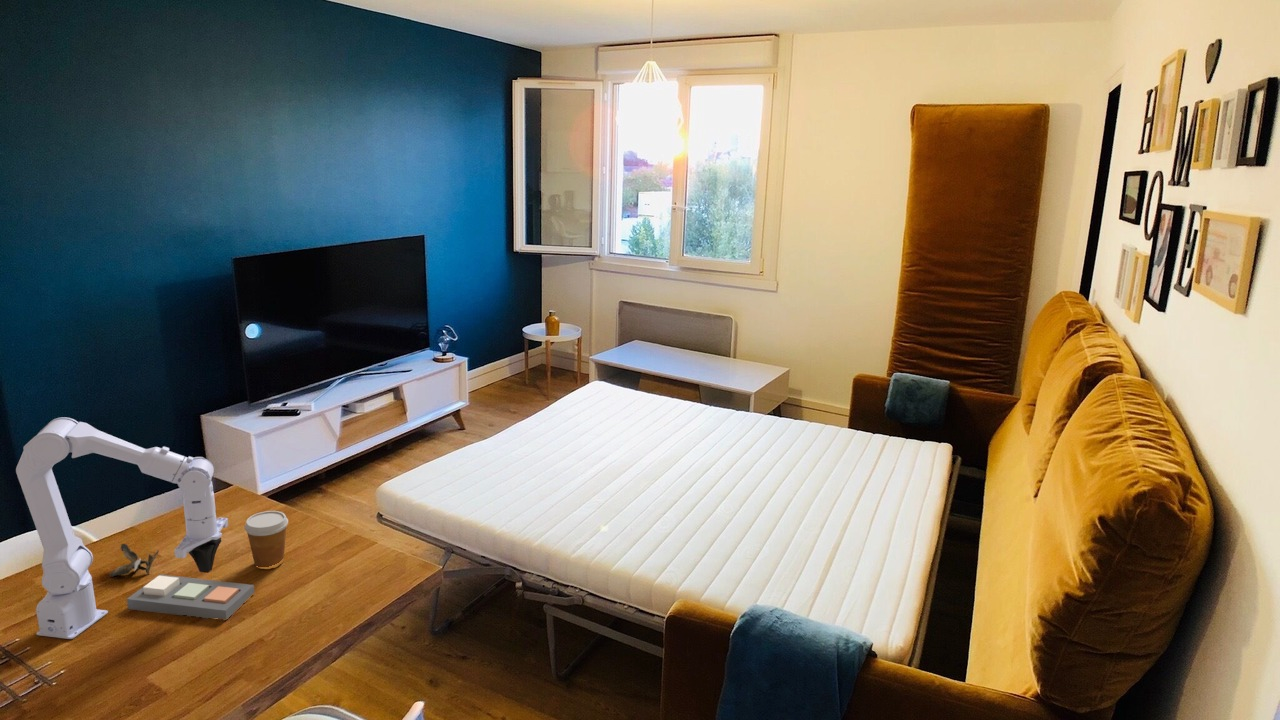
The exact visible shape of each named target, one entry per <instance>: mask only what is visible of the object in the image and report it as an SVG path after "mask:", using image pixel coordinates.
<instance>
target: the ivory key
mask: <svg viewBox="0 0 1280 720" xmlns="http://www.w3.org/2000/svg"><path fill="white" fill-rule="evenodd" d="M157 576H158V575H157ZM157 576H156V577H155V579H154V578H153V579H154V580H153V579H152V580H150V581H151V582H150V581H149V582H148V583H146V584H147V585H146V584H145V585H144V586H142V587H143V590H144V594H145V595H154V596H162V597H165V596H167V595H168V594H169V593H170V592H172V591H173V590H174V589H176V588H177V587H178V586H179V585H180V581H179V578H177V577H168V576H158V577H157Z"/></svg>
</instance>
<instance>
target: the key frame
mask: <svg viewBox="0 0 1280 720" xmlns="http://www.w3.org/2000/svg"><path fill="white" fill-rule="evenodd" d="M158 576H168V577H177V578H179V581H180V585H179V586H178V587H177V588H176V589H174V590H173V591H172V592H170V593H169V594H168V595H167V596H165V597H162V596H154V595H145V594H144V590H143V587H144V586H142V587H141V588H140V589H138V590H137V591H136V592H134V593H133V594H132V595H129V597H127V598H126V602H127V609H128V610H134V611H142V612H148V613H149V612H151V613H158V614H166V615H167V614H168V615H176V616H183V615H187V616H186V617H191V616H196V617H195V618H199V617H202V618H201V619H208V618H212V619H211V620H214V619H213V618H218V619H228V618H229V617H230V616H231V615H232V614H233V613H234V612H235V611H236V610H237V609H238V608H239V607H240V606H241V605H242V604H243V603H244V602H245V601H246V600H247V599H248V598H249V597H250V596H251V595H252V594H253V593H254V594H255V584H248V583H239V582H232V581H231V582H230V581H223V580H222V581H221V580H212V579H204V578H197V577H196V578H195V577H187V576H178V575H170V574H169V575H168V574H158V575H157V576H156V577H158ZM156 577H155V578H156ZM155 578H153V579H152V580H154V579H155ZM152 580H150V581H149V582H151V581H152ZM188 583H195V584H203V585H209V589H208V590H207V591H206V592H205V593H203V594H202V595H201V596H200V597H199V598H197V599H196V600H188V599H179V598H174V594H175V593H177V592H178V591H179V590H180V589H182V588H183V587H184V586H185V585H187V584H188ZM147 584H148V583H146V584H145V585H147ZM218 586H221V587H229V588H238V589H239V592H238V593H237V594H236V595H235V596H234V597H233V598H232V599H231V600H229V601H228V602H227V603H226V604H222V603H213V602H205V601H204V598H205V597H206V596H207V595H208V594H210V593H211V592H212V591H213V590H214V589H216V588H217V587H218ZM234 614H235V613H234ZM234 614H233V615H234ZM233 615H232V616H233ZM232 616H231V617H232ZM231 617H230V618H231ZM230 618H229V619H230ZM229 619H228V620H229Z"/></svg>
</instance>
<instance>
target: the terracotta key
mask: <svg viewBox="0 0 1280 720" xmlns="http://www.w3.org/2000/svg"><path fill="white" fill-rule="evenodd" d="M238 592H239V589H238V588H229V587H221V586H218V587H217V588H216V589H214V590H213V591H212V592H211V593H210V594H208V595H207V596H206V597H205V598H204V601H205V602H213V603H222V604H226V603H227V602H228V601H229V600H231V599H232V598H233V597H234V596H235V595H236V594H237V593H238Z"/></svg>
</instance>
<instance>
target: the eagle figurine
mask: <svg viewBox="0 0 1280 720" xmlns="http://www.w3.org/2000/svg"><path fill="white" fill-rule="evenodd" d="M120 550H121V552H122V553H123V555H124V557H125V558H126V559H127V560H129V561H131V562H130V563H127V564H124V565H119V566H118V567H117V568H116V569H114V570H112V571H110V573H109V577H112V578H113V577H115V576H119V575H124V576H125V575H126V574H129V573H130V572H131V571H132V570H133V572H135V571H136V570H142V571H145V573H146V575H150V569H151V567H152V564H153V563H154V561H155V559H156V557H157V556H158V554H159V551H160V550H159V549H157V551H155V553H154V555H152V554H150V553H149V554H148V558H147V559H148V560H142V559H141V557H138V555H137V553H136V552H135V551H133V550H131V549H130V548H129V546H128V544H127V543H122V544H121V546H120ZM142 564H145V565H146V567H145V566H142Z"/></svg>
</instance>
